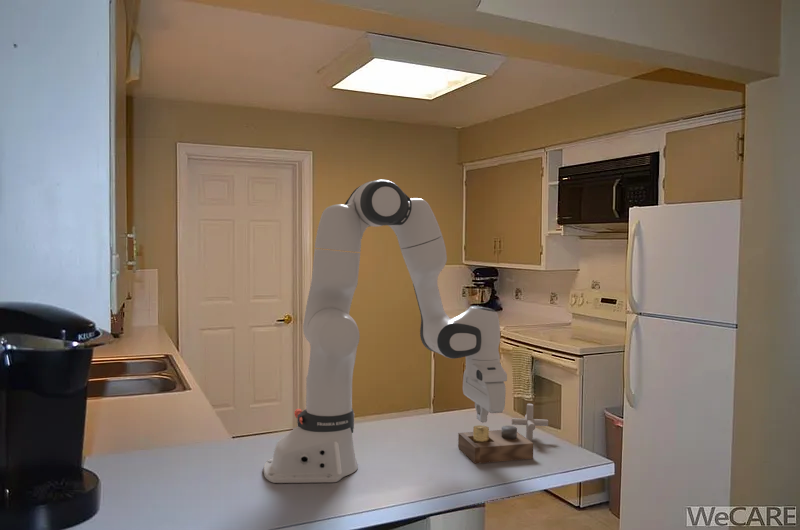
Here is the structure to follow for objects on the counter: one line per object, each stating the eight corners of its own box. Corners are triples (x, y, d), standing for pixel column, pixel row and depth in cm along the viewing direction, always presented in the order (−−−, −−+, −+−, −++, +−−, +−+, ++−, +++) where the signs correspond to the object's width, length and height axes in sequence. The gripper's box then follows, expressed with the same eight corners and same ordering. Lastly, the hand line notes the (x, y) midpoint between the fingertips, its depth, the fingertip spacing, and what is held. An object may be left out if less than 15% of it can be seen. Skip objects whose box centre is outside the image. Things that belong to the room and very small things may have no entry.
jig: (474, 463, 151) (475, 438, 151) (458, 447, 162) (458, 424, 162) (533, 458, 155) (533, 434, 155) (512, 443, 166) (513, 420, 166)
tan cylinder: (476, 457, 155) (476, 430, 155) (470, 452, 159) (471, 425, 159) (490, 456, 156) (491, 429, 156) (484, 451, 160) (485, 424, 160)
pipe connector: (544, 434, 174) (545, 400, 174) (550, 446, 164) (550, 410, 164) (509, 433, 175) (510, 399, 175) (512, 444, 165) (513, 408, 165)
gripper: (457, 361, 166) (456, 410, 167) (486, 377, 146) (485, 433, 147) (478, 360, 168) (478, 409, 168) (510, 376, 148) (509, 431, 148)
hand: (481, 420), depth 157 cm, fingers closed
